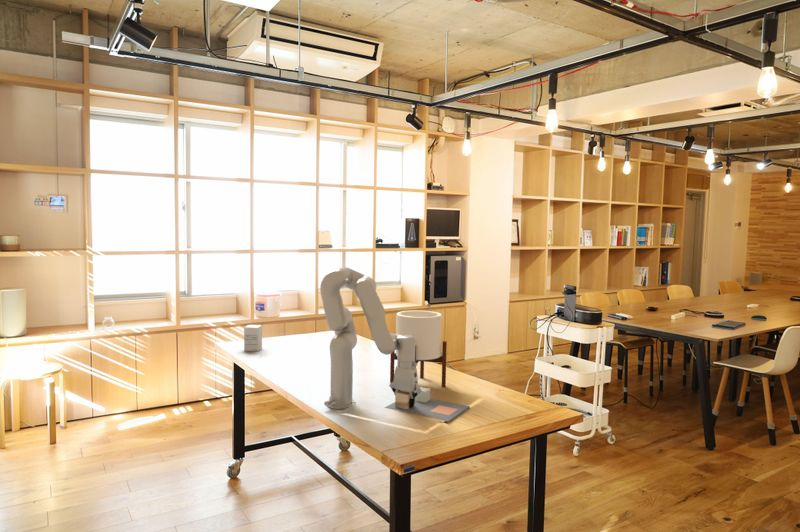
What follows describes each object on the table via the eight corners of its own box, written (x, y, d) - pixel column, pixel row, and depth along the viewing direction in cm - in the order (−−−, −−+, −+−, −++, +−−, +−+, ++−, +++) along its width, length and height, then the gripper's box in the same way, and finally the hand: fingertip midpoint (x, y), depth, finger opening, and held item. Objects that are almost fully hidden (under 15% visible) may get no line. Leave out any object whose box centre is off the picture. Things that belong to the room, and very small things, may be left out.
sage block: (425, 402, 241) (425, 391, 241) (415, 400, 243) (415, 389, 243) (430, 399, 245) (430, 388, 245) (420, 397, 248) (420, 386, 247)
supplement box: (248, 347, 347) (248, 324, 346) (262, 348, 347) (262, 324, 346) (243, 351, 338) (243, 327, 337) (258, 351, 338) (258, 327, 337)
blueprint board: (447, 423, 218) (447, 421, 218) (384, 409, 233) (384, 407, 233) (469, 408, 237) (469, 406, 237) (409, 396, 252) (409, 394, 252)
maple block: (407, 409, 231) (407, 395, 230) (395, 406, 234) (395, 393, 234) (414, 405, 236) (414, 392, 236) (402, 403, 239) (402, 389, 239)
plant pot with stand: (412, 394, 256) (413, 318, 254) (386, 382, 275) (387, 312, 272) (449, 387, 269) (451, 315, 266) (422, 376, 287) (424, 309, 285)
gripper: (427, 365, 233) (426, 406, 234) (393, 359, 241) (392, 399, 243) (419, 369, 226) (418, 411, 227) (384, 362, 235) (383, 403, 236)
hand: (404, 404), depth 235 cm, fingers closed on maple block, 6 cm apart
